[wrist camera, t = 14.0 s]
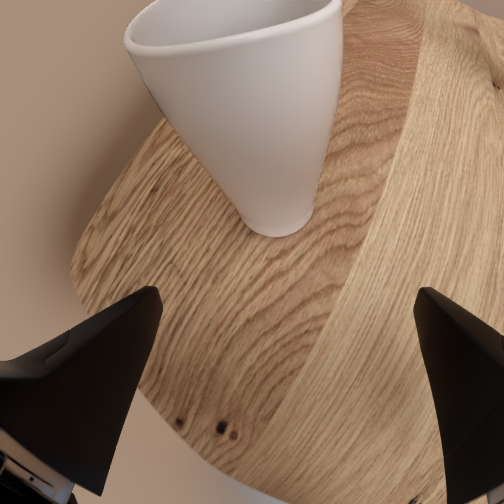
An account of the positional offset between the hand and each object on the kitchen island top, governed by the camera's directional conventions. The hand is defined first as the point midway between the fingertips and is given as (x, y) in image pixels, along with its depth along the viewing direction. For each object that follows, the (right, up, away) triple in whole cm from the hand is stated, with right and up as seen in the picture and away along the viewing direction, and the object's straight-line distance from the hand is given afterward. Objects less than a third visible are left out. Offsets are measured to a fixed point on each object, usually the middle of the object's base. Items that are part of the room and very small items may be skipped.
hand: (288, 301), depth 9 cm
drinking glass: (+1, +5, +11) cm, 12 cm away
